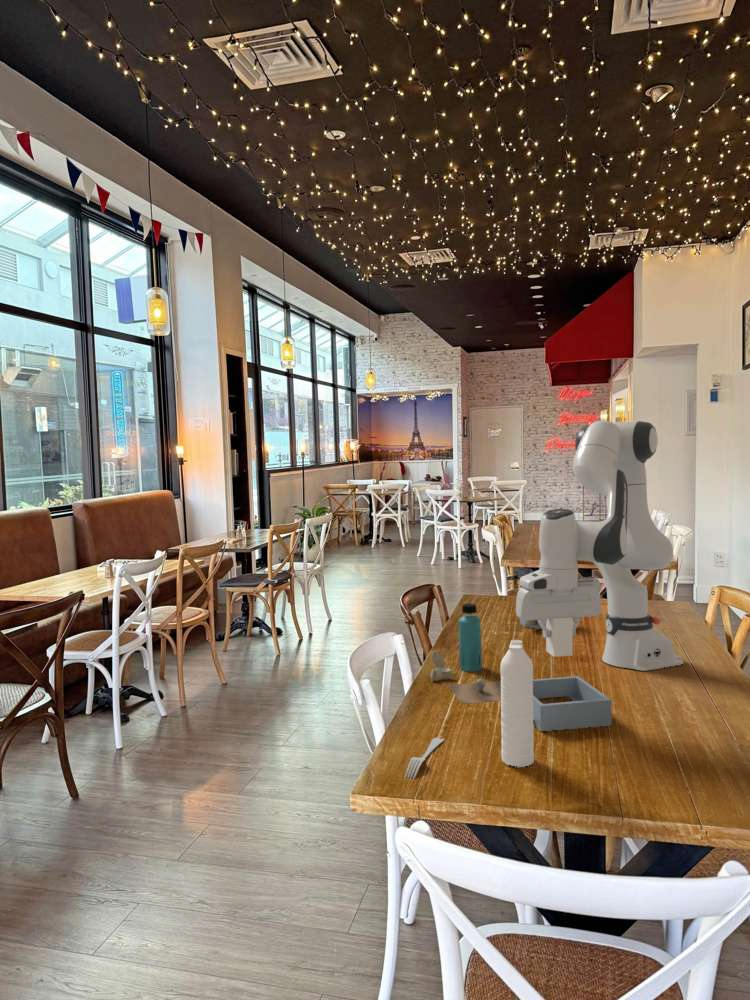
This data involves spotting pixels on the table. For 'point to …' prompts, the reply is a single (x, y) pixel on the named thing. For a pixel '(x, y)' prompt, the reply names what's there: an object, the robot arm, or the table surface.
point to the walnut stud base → (477, 691)
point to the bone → (440, 668)
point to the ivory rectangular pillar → (560, 637)
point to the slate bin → (569, 705)
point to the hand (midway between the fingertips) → (559, 636)
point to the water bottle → (517, 707)
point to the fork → (432, 746)
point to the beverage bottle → (470, 640)
